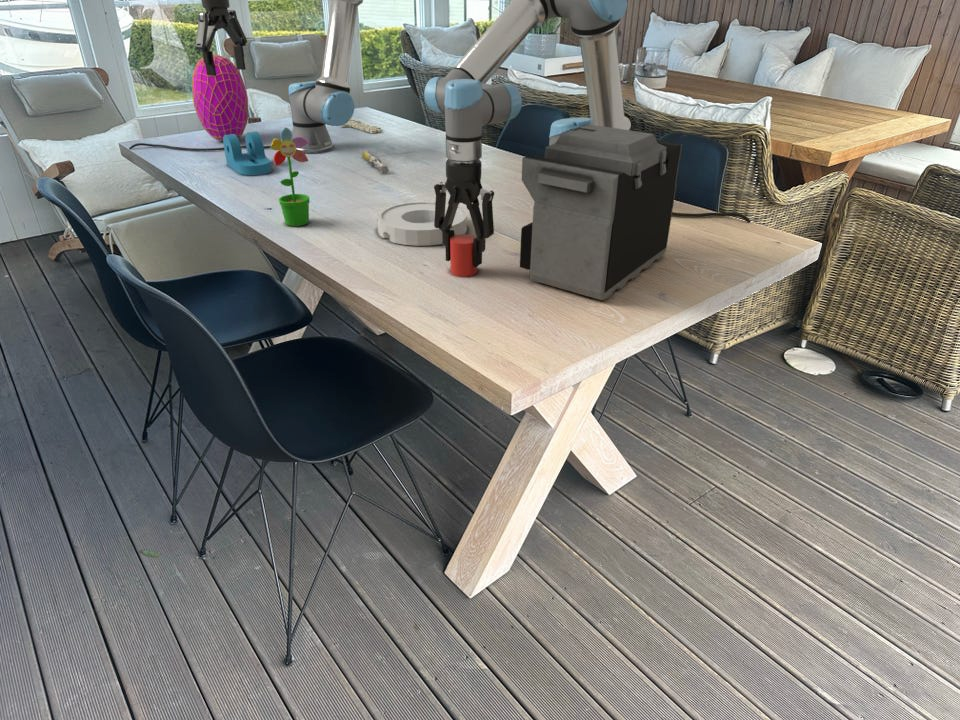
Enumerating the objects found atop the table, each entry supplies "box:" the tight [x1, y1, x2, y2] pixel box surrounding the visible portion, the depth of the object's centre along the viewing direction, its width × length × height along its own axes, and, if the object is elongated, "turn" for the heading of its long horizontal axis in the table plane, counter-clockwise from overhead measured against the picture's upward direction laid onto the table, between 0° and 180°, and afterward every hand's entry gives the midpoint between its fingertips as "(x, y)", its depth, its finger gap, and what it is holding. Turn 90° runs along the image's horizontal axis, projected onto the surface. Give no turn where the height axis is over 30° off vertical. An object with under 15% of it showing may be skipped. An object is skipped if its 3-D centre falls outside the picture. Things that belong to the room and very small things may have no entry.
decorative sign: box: [341, 118, 382, 134], centre depth 285 cm, size 26×1×10 cm
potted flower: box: [270, 127, 310, 227], centre depth 177 cm, size 9×8×25 cm
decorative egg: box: [191, 54, 249, 142], centre depth 255 cm, size 19×19×30 cm
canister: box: [449, 233, 478, 278], centre depth 155 cm, size 6×6×8 cm
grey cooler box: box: [519, 124, 683, 301], centre depth 152 cm, size 37×22×30 cm, turn 144°
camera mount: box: [222, 131, 272, 176], centre depth 226 cm, size 18×10×10 cm, turn 35°
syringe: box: [361, 149, 390, 175], centre depth 234 cm, size 25×4×3 cm, turn 21°
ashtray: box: [376, 200, 468, 247], centre depth 179 cm, size 23×23×4 cm
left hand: (226, 72), depth 207 cm, fingers open, 13 cm apart
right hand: (463, 261), depth 156 cm, fingers open, 6 cm apart
